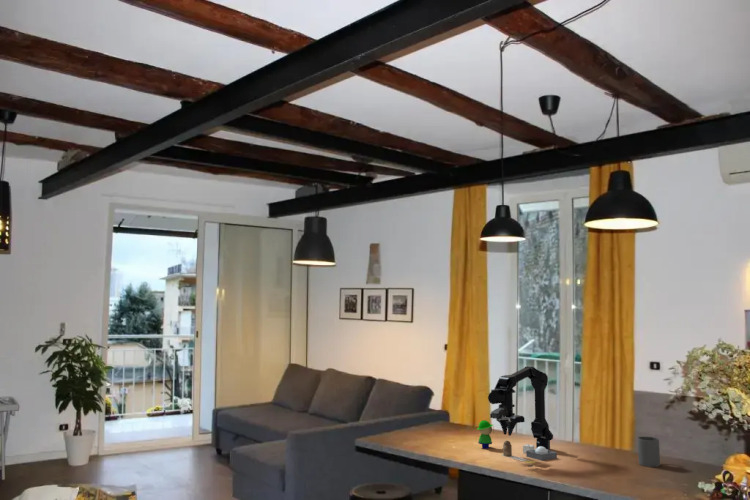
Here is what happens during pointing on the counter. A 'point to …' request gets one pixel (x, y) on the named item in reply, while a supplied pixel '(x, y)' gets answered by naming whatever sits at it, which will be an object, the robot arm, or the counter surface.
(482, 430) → the toy
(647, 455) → the mug
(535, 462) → the board
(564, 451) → the counter surface
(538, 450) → the dome
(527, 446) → the die
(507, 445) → the pawn
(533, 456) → the base
